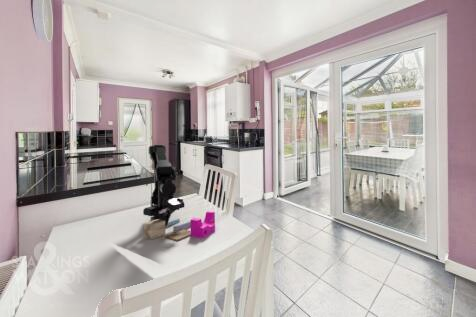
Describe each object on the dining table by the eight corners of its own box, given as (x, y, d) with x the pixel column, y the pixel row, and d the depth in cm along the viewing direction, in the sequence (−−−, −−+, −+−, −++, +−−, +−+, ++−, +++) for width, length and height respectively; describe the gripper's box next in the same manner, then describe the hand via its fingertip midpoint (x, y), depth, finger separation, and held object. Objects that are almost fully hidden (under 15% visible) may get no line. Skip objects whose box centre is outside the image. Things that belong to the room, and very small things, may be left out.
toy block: (203, 238, 89) (202, 221, 89) (190, 236, 91) (190, 219, 91) (219, 227, 103) (219, 212, 103) (208, 226, 105) (208, 211, 105)
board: (165, 237, 91) (165, 235, 91) (182, 230, 99) (182, 228, 99) (177, 241, 86) (177, 239, 86) (195, 233, 94) (195, 232, 94)
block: (144, 237, 91) (144, 223, 91) (158, 231, 97) (158, 219, 97) (151, 239, 88) (151, 225, 88) (165, 234, 94) (165, 220, 94)
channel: (161, 228, 101) (161, 223, 101) (177, 223, 110) (177, 218, 110) (175, 232, 96) (175, 227, 96) (191, 226, 104) (191, 221, 104)
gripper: (158, 197, 85) (159, 236, 85) (192, 190, 100) (192, 223, 101) (142, 195, 91) (142, 231, 91) (176, 189, 107) (177, 219, 107)
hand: (165, 226), depth 97 cm, fingers closed
